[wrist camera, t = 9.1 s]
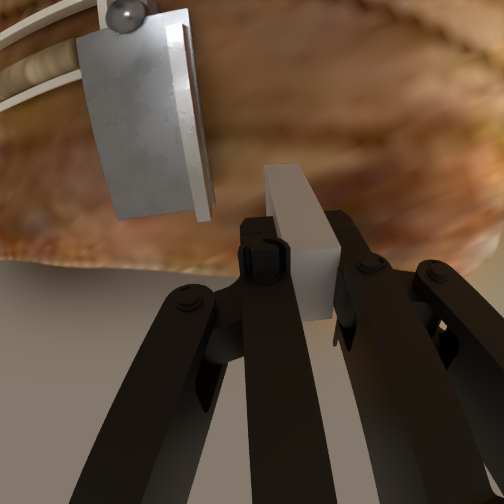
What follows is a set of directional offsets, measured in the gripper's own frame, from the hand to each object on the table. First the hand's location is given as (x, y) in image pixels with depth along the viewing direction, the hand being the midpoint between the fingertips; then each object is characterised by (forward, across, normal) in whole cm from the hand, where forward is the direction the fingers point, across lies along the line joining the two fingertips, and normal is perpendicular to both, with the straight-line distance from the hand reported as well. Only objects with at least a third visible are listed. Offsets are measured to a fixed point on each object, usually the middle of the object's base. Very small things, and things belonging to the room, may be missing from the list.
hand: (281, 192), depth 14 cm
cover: (+11, -9, +3) cm, 14 cm away
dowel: (+15, -20, +11) cm, 27 cm away
